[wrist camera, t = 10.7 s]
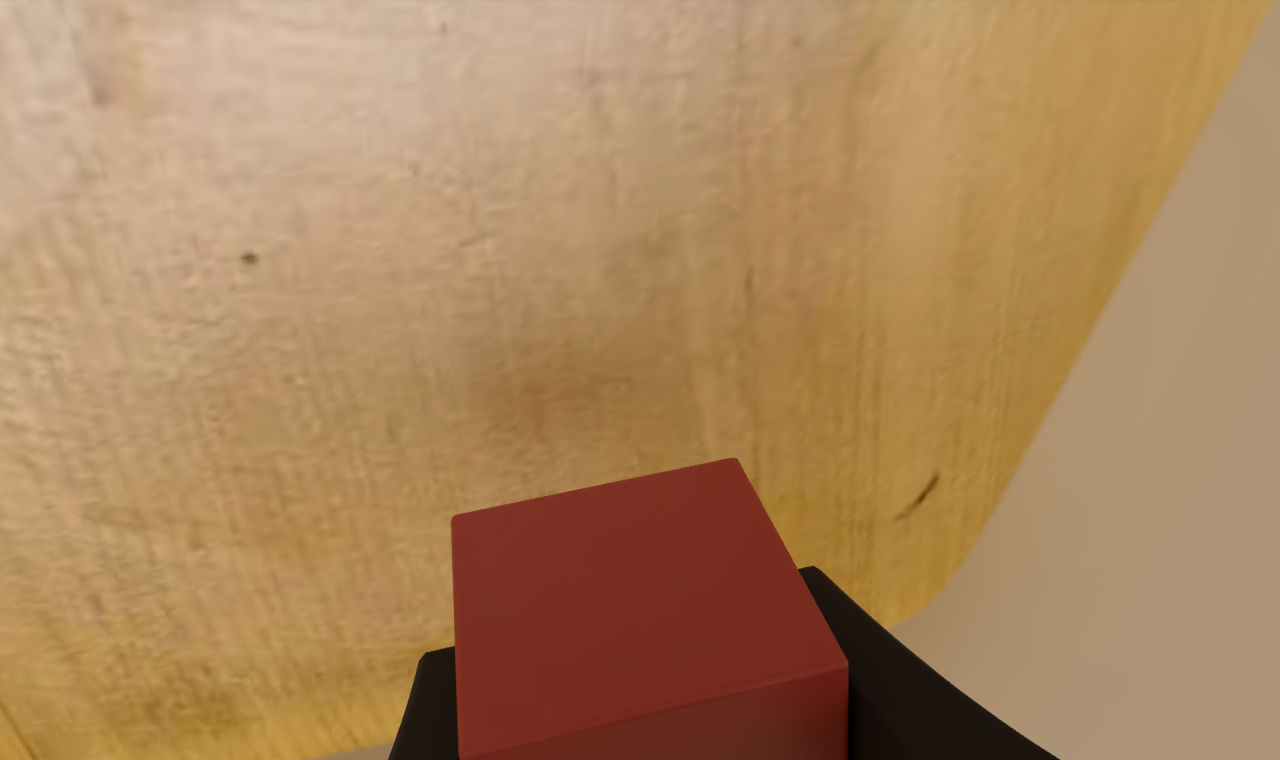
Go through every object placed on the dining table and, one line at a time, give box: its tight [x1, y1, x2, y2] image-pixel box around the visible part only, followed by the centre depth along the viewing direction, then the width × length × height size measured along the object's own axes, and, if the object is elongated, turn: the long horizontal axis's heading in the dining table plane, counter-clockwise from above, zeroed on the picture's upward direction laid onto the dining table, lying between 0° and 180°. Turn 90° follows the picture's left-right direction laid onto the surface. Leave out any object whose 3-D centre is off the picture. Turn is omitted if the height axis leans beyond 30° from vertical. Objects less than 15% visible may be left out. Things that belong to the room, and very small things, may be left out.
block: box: [451, 458, 849, 760], centre depth 12 cm, size 4×4×4 cm
